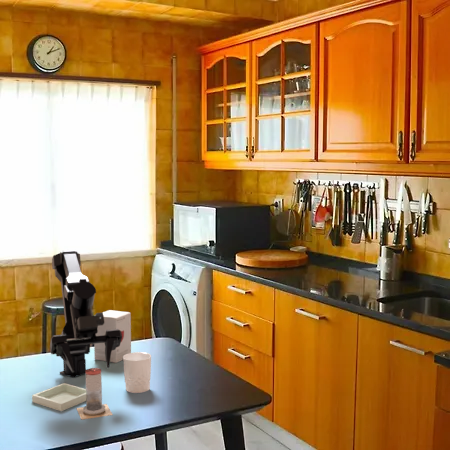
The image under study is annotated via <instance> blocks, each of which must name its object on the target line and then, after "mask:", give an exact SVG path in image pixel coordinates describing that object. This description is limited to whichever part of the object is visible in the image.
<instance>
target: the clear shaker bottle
mask: <svg viewBox="0 0 450 450" xmlns="http://www.w3.org/2000/svg"><path fill="white" fill-rule="evenodd" d="M85 372H86V373H85V389H86V401H85V402H86V403H85V404H86V405H84V406H83V407H84V408H83V413H84V414H85V415H89V416H95V415H100V414H103V413H104V412H105V406H104V405H102V404H103V392H102V390H103V388H102V383H103V382H102V368H99V367H92V368H91V367H90V368H86V371H85Z"/></svg>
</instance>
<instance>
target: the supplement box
mask: <svg viewBox="0 0 450 450" xmlns="http://www.w3.org/2000/svg"><path fill="white" fill-rule="evenodd" d="M101 313H103V316H104V324H103V325H100V326H98V328H97V329H98V332H97V333H96V336H103V335H105V334H106V330H113V329H119V330H120V331H121V333H122V339H121V343H120V346H119V347H116V349H115V350H112V352H111V357H110V363H114V364H118V363H119V362H121V361H123V356H124V355H126V354H129V353H132V332H131V331H132V330H131V329H132V325H131V323H132V322H131V321H132V316H131V314H132V313H131V312H129V311H120V310H114V309H113V310H112V309H108V310H106V311H103V312H101ZM95 315H96V314H95ZM95 315H93V316H95ZM93 347H94V349H93V351H94V360H97V361H102V362H106V358H105V347H106V346H105V343H96V344H93Z"/></svg>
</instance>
